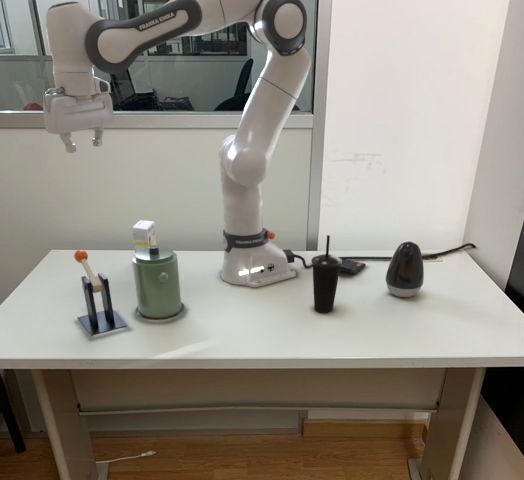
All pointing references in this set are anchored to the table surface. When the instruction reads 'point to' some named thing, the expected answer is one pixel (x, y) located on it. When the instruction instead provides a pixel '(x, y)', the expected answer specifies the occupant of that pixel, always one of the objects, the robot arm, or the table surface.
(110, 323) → the switch bracket
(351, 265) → the calculator
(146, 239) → the ink box
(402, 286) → the black egg-shaped device
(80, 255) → the switch lever
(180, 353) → the table surface
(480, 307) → the table surface
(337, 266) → the drinking cup
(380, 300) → the table surface
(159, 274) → the green canister
